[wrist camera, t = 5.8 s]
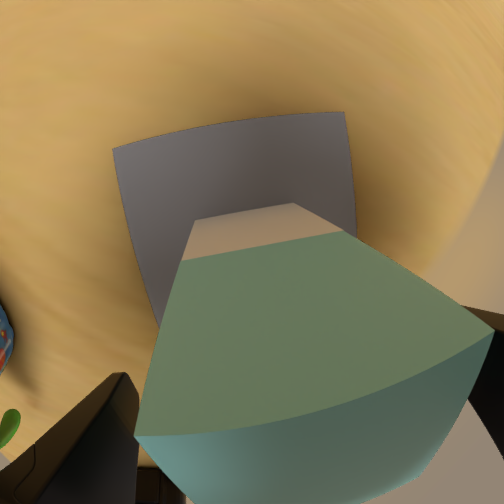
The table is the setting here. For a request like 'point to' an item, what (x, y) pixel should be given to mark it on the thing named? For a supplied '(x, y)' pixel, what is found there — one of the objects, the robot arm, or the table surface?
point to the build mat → (229, 183)
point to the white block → (253, 229)
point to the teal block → (304, 374)
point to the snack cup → (3, 345)
